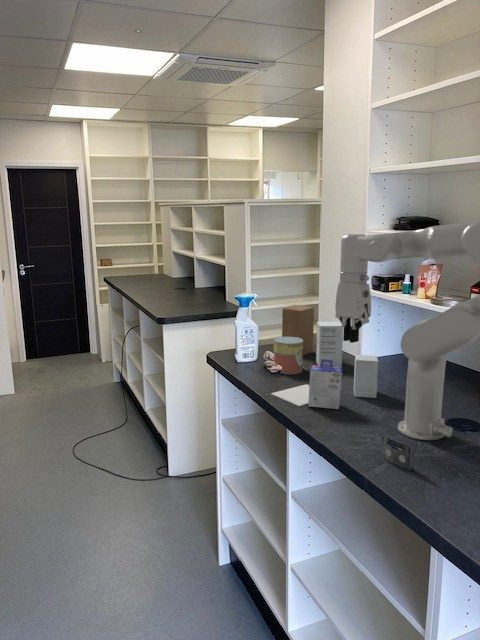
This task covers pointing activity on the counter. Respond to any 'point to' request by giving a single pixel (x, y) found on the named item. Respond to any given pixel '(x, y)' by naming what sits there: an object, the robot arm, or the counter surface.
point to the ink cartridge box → (325, 386)
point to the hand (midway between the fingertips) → (350, 340)
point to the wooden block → (299, 325)
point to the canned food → (289, 354)
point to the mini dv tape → (397, 452)
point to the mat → (294, 395)
